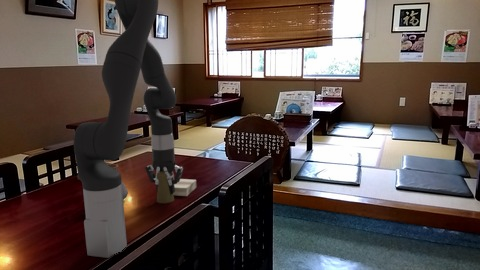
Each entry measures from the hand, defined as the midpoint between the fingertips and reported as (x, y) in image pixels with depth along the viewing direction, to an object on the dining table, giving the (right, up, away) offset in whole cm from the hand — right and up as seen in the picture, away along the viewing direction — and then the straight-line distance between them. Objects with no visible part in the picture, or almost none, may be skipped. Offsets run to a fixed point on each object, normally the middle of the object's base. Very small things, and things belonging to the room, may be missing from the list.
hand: (165, 194), depth 128 cm
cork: (0, -2, +1) cm, 3 cm away
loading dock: (+4, 0, +10) cm, 10 cm away
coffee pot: (-20, -4, -5) cm, 21 cm away
